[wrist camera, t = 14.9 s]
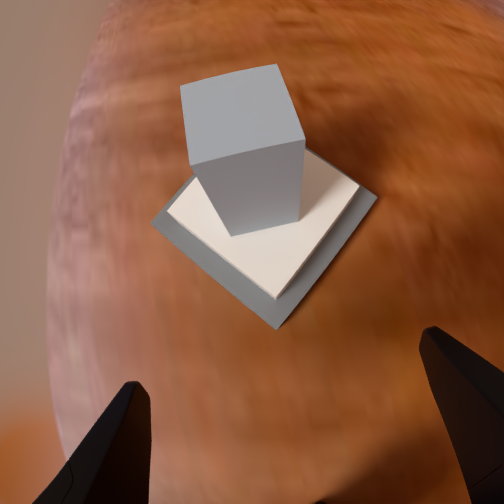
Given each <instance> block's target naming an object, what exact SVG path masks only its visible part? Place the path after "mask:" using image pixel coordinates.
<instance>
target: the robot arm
mask: <svg viewBox="0 0 504 504" xmlns="http://www.w3.org/2000/svg"><path fill="white" fill-rule="evenodd" d="M419 352H420V355H421V358H422V361H423V364H424V368H425V371H426V374H427V377H428V381H429V384H430V387H431V390H432V393H433V396H434V398H435V401H436V403H437V406H438V408H439V410H440V413H441V415H442V418H443V421H444V423H445V426H446V428H447V431H448V434H449V436H450V439H451V442H452V444H453V447H454V450H455V453H456V456H457V458H458V461H459V464H460V467H461V470H462V473H463V476H464V479H465V483H466V486H467V489H468V493H469V496H470V500H471V503H472V504H504V372H502V371H501V370H499V369H498V368H497V367H495V366H494V365H492V364H491V363H490V362H488V361H487V360H485V359H484V358H482V357H481V356H479V355H478V354H477V353H475V352H474V351H472V350H471V349H469V348H468V347H466V346H465V345H464V344H462V343H461V342H459V341H458V340H456V339H455V338H453V337H452V336H450V335H449V334H447V333H446V332H444V331H443V330H441V329H440V328H438V327H437V326H432V327H429V328H426V329H424V331H423V333H422V337H421V341H420V344H419ZM151 442H152V440H151V408H150V397H149V395H148V393H147V392H146V390H145V389H144V388H143V386H142V385H141V384H140V382H138V381H128V382H126V383H125V384H124V385H123V386H122V388H121V389H120V390H119V392H118V393H117V394H116V396H115V397H114V398H113V400H112V401H111V402H110V404H109V405H108V406H107V408H106V409H105V411H104V412H103V413H102V415H101V416H100V417H99V419H98V420H97V421H96V423H95V424H94V425H93V427H92V428H91V429H90V431H89V432H88V433H87V435H86V436H85V438H84V439H83V440H82V442H81V443H80V444H79V446H78V447H77V448H76V450H75V451H74V453H73V454H72V455H71V457H70V458H69V460H68V461H67V462H66V463H65V465H64V466H63V468H62V469H61V470H60V472H59V473H58V474H57V476H56V477H55V478H54V479H53V481H52V482H51V483H50V484H49V485H48V487H47V488H46V489H45V490H44V491H43V492H42V493H41V494H40V495H39V496H38V497H37V499H36V500H35V501H34V502H33V503H32V504H148V503H149V477H150V459H151ZM316 504H326V503H324V502H318V503H316Z"/></svg>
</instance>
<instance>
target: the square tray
mask: <svg viewBox="0 0 504 504" xmlns="http://www.w3.org/2000/svg"><path fill="white" fill-rule="evenodd" d="M305 149H306V150H308V151H309V152H311V153H312V154H314V155H315V156H317V157H318V158H320V159H321V160H323V161H324V162H326V163H327V164H329V165H330V166H332V167H333V168H335V169H336V170H338V171H339V172H341V173H342V174H344V175H345V176H347V177H348V178H349V179H351V180H352V181H354V182H355V183H357V184H358V185H359V188H358V190H357V192H356V194H355V195H354V197H353V199H352V201H351V202H350V204H349V205H348V206H347V208H346V209H345V210H344V212H343V213H342V215H341V216H340V217H339V219H338V220H337V221H336V223H335V224H334V225H333V227H332V228H331V230H330V231H329V232H328V234H327V235H326V236H325V238H324V239H323V240H322V242H321V243H320V244H319V246H318V247H317V248H316V250H315V251H314V252H313V254H312V255H311V256H310V258H309V259H308V260H307V261H306V263H305V264H304V265H303V267H302V268H301V269H300V271H299V272H298V273H297V275H296V276H295V277H294V278H293V280H292V281H291V282H290V284H289V285H288V286H287V287H286V289H285V290H284V291H283V293H282V294H281V295H280V296H279V298H278V299H277V300H275V299H274V298H273V297H271V296H270V295H269V294H268V293H266V292H265V291H264V290H263V289H261V288H260V287H259V286H257V285H256V284H255V283H254V282H252V281H251V280H250V279H248V278H247V277H246V276H245V275H243V274H242V273H241V272H240V271H238V270H237V269H236V268H235V267H233V266H232V265H231V264H229V263H228V262H227V261H226V260H224V259H223V258H222V257H221V256H219V255H218V254H217V253H216V252H214V251H213V250H212V249H211V248H209V247H208V246H207V245H206V244H204V243H203V242H202V241H201V240H199V239H198V238H197V237H196V236H194V235H193V234H192V233H191V232H189V231H188V230H187V229H186V228H184V227H183V226H182V225H181V224H180V223H178V222H177V221H176V220H175V219H174V218H173V217H172V216H171V215H170V214H169V213H168V212H167V210H168V209H169V208H170V207H171V205H172V204H173V203H174V202H175V201H176V199H177V198H178V197H179V196H180V195H181V194H182V192H183V191H184V190H185V189H186V188H187V187H188V186H189V184H190V183H191V182H192V181H193V180H194V179H195V178H196V175H195V173H194V174H193V175H192V176H191V177H190V178H189V179H188V180H187V182H186V183H185V184H184V185H183V186H182V187H181V188H180V189H179V191H178V192H177V193H176V194H175V195H174V196H173V197H172V198H171V200H170V201H169V202H168V203H167V204H166V205H165V207H164V208H163V209H162V210H161V211H160V212H159V214H158V215H157V216H156V217H155V218H154V219H153V221H152V222H151V223H150V224H151V225H152V226H154V227H155V228H156V229H157V230H158V231H159V232H160V233H161V234H163V235H164V236H165V237H166V238H167V239H168V240H169V241H171V242H172V243H173V244H174V245H175V246H176V247H177V248H179V249H180V250H181V251H182V252H183V253H184V254H185V255H187V256H188V257H189V258H190V259H191V260H192V261H194V262H195V263H196V264H197V265H198V266H199V267H201V268H202V269H203V270H204V271H205V272H206V273H208V274H209V275H210V276H211V277H212V278H214V279H215V280H216V281H217V282H218V283H219V284H221V285H222V286H223V287H224V288H225V289H227V290H228V291H229V292H230V293H231V294H233V295H234V296H235V297H236V298H237V299H239V300H240V301H241V302H242V303H244V304H245V305H246V306H247V307H248V308H250V309H251V310H252V311H253V312H254V313H256V314H257V315H258V316H259V317H261V318H262V319H263V320H264V321H266V322H267V323H268V324H269V325H271V326H272V327H273V328H274V329H276V330H277V329H278V328H279V327H280V325H281V324H282V323H283V322H284V321H285V319H286V318H287V317H288V316H289V314H290V313H291V312H292V311H293V309H294V308H295V307H296V306H297V304H298V303H299V302H300V301H301V299H302V298H303V297H304V296H305V294H306V293H307V292H308V291H309V289H310V288H311V287H312V285H313V284H314V283H315V282H316V280H317V279H318V278H319V276H320V275H321V274H322V272H323V271H324V270H325V269H326V267H327V266H328V265H329V263H330V262H331V261H332V259H333V258H334V257H335V255H336V254H337V253H338V251H339V250H340V249H341V247H342V246H343V245H344V243H345V242H346V241H347V239H348V238H349V236H350V235H351V234H352V232H353V231H354V230H355V228H356V227H357V225H358V224H359V223H360V221H361V220H362V218H363V217H364V216H365V214H366V213H367V211H368V210H369V209H370V207H371V206H372V204H373V203H374V201H375V200H376V199H377V196H375V195H374V194H373V193H371V192H370V191H369V190H367V189H366V188H365V187H363V186H362V185H360V184H359V183H358V182H356V181H355V180H354V179H352V178H351V177H349V176H348V175H347V174H345V173H344V172H342V171H341V170H340V169H338V168H337V167H335V166H334V165H332V164H331V163H329V162H328V161H327V160H325V159H324V158H322V157H321V156H319V155H318V154H316V153H315V152H313V151H312V150H310V149H309V148H307V147H306V146H305Z"/></svg>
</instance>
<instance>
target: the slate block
mask: <svg viewBox="0 0 504 504" xmlns="http://www.w3.org/2000/svg"><path fill="white" fill-rule="evenodd" d="M180 90H181V98H182V107H183V115H184V124H185V132H186V139H187V147H188V154H189V162H190V166H191V168H192V170H193V172H194V173H195V175H196V177H197V179H198V180H199V182H200V184H201V186H202V187H203V189H204V191H205V193H206V194H207V196H208V198H209V200H210V201H211V203H212V205H213V207H214V208H215V210H216V212H217V214H218V215H219V217H220V219H221V221H222V222H223V224H224V226H225V228H226V229H227V231H228V233H229V234H230V236H231V237H232V236H237V235H241V234H245V233H250V232H254V231H258V230H263V229H267V228H271V227H276V226H280V225H285V224H289V223H294V222H298V217H299V207H300V197H301V187H302V176H303V165H304V153H305V141H306V139H305V136H304V133H303V130H302V128H301V125H300V122H299V119H298V117H297V114H296V111H295V109H294V106H293V103H292V101H291V98H290V96H289V93H288V90H287V88H286V85H285V83H284V80H283V78H282V75H281V73H280V71H279V68H278V66H277V64H272V65H267V66H261V67H256V68H251V69H246V70H241V71H237V72H232V73H228V74H223V75H219V76H215V77H211V78H207V79H203V80H200V81H196V82H192V83H189V84H185V85H182V86H180Z"/></svg>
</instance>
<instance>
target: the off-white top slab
mask: <svg viewBox="0 0 504 504" xmlns="http://www.w3.org/2000/svg"><path fill="white" fill-rule="evenodd" d="M358 188H359V185H358V184H357V183H355V182H354V181H352V180H351V179H349V178H348V177H347V176H345V175H344V174H342V173H341V172H339V171H338V170H336V169H335V168H333V167H332V166H330V165H329V164H327V163H326V162H324V161H323V160H321V159H320V158H318V157H317V156H315V155H314V154H312V153H311V152H309V151H308V150H306V149H305V153H304V165H303V176H302V187H301V197H300V207H299V217H298V222H294V223H289V224H285V225H280V226H276V227H271V228H267V229H263V230H258V231H254V232H250V233H245V234H241V235H237V236H232V237H231V236H230V234H229V233H228V231H227V229H226V228H225V226H224V224H223V222H222V221H221V219H220V217H219V215H218V214H217V212H216V210H215V208H214V207H213V205H212V203H211V201H210V200H209V198H208V196H207V194H206V193H205V191H204V189H203V187H202V186H201V184H200V182H199V180H198V179H197V177H196V178H195V179H194V180H193V181H192V182H191V183H190V184H189V186H188V187H187V188H186V189H185V190H184V191H183V192H182V194H181V195H180V196H179V197H178V198H177V199H176V201H175V202H174V203H173V204H172V205H171V207H170V208H169V209H168V210H167V212H168V213H169V214H170V215H171V216H172V217H173V218H174V219H175V220H176V221H177V222H178V223H180V224H181V225H182V226H183V227H184V228H186V229H187V230H188V231H189V232H191V233H192V234H193V235H194V236H196V237H197V238H198V239H199V240H201V241H202V242H203V243H204V244H206V245H207V246H208V247H209V248H211V249H212V250H213V251H214V252H216V253H217V254H218V255H219V256H221V257H222V258H223V259H224V260H226V261H227V262H228V263H229V264H231V265H232V266H233V267H235V268H236V269H237V270H238V271H240V272H241V273H242V274H243V275H245V276H246V277H247V278H248V279H250V280H251V281H252V282H254V283H255V284H256V285H257V286H259V287H260V288H261V289H263V290H264V291H265V292H266V293H268V294H269V295H270V296H271V297H273V298H274V299H275V300H277V299H278V298H279V296H280V295H281V294H282V293H283V291H284V290H285V289H286V287H287V286H288V285H289V284H290V282H291V281H292V280H293V278H294V277H295V276H296V275H297V273H298V272H299V271H300V269H301V268H302V267H303V265H304V264H305V263H306V261H307V260H308V259H309V258H310V256H311V255H312V254H313V252H314V251H315V250H316V248H317V247H318V246H319V244H320V243H321V242H322V240H323V239H324V238H325V236H326V235H327V234H328V232H329V231H330V230H331V228H332V227H333V225H334V224H335V223H336V221H337V220H338V219H339V217H340V216H341V215H342V213H343V212H344V210H345V209H346V208H347V206H348V205H349V204H350V202H351V201H352V199H353V197H354V195H355V194H356V192H357V190H358Z"/></svg>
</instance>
